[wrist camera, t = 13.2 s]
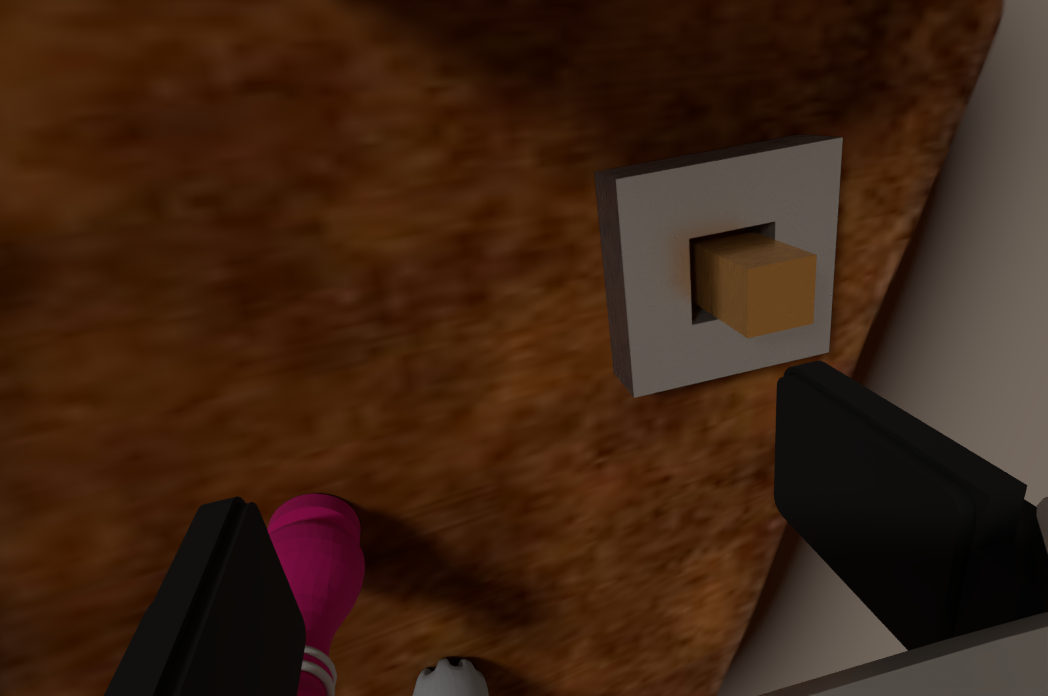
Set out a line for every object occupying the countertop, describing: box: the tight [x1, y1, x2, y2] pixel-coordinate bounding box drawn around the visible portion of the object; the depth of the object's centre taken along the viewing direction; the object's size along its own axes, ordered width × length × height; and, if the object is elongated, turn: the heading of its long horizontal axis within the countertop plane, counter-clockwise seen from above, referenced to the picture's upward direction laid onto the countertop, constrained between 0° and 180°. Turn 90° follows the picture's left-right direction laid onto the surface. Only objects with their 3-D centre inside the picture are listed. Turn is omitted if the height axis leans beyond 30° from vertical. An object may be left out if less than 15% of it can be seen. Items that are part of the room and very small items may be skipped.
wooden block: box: [689, 228, 817, 338], centre depth 37 cm, size 4×4×9 cm
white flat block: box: [594, 134, 843, 398], centre depth 39 cm, size 14×14×4 cm
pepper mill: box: [267, 493, 365, 696], centre depth 34 cm, size 7×7×20 cm
